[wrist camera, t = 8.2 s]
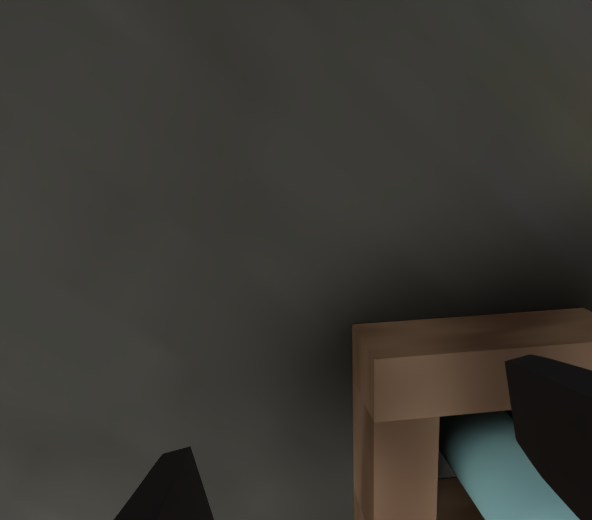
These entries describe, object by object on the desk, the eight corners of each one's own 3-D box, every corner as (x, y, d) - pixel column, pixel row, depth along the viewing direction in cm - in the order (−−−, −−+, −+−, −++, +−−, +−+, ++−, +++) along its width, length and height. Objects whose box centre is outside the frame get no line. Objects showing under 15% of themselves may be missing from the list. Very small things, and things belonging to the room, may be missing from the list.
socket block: (583, 307, 23) (644, 337, 19) (564, 511, 25) (615, 569, 22) (351, 324, 22) (373, 359, 18) (353, 534, 24) (374, 600, 21)
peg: (488, 378, 23) (594, 479, 16) (509, 438, 24) (618, 558, 17) (420, 407, 23) (498, 521, 16) (443, 466, 24) (527, 598, 17)
